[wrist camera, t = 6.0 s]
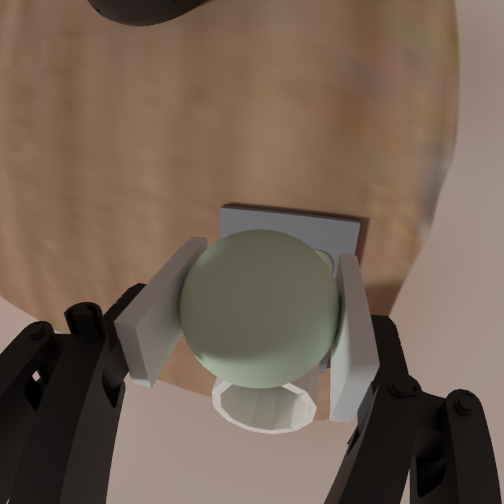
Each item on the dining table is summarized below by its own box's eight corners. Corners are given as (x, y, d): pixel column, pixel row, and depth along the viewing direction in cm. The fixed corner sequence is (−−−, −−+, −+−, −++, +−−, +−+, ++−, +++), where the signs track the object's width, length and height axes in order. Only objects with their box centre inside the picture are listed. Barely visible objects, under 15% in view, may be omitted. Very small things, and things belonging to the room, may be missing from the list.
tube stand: (222, 205, 29) (178, 255, 20) (359, 220, 27) (380, 281, 18) (225, 354, 38) (200, 421, 29) (324, 368, 36) (321, 440, 27)
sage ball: (207, 203, 13) (138, 264, 8) (346, 217, 12) (366, 294, 7) (210, 314, 16) (165, 400, 11) (324, 330, 15) (321, 428, 10)
